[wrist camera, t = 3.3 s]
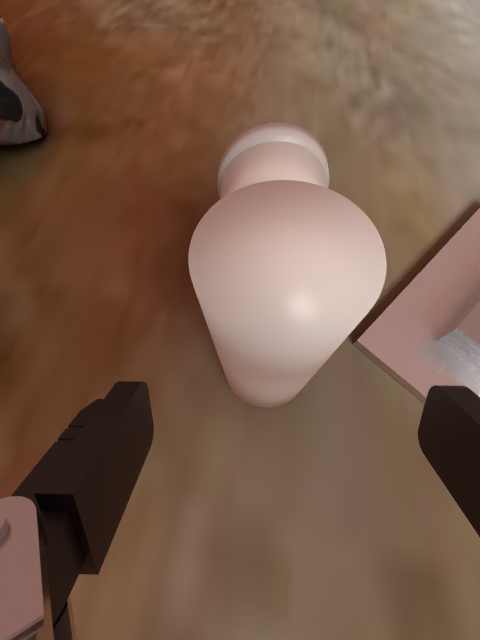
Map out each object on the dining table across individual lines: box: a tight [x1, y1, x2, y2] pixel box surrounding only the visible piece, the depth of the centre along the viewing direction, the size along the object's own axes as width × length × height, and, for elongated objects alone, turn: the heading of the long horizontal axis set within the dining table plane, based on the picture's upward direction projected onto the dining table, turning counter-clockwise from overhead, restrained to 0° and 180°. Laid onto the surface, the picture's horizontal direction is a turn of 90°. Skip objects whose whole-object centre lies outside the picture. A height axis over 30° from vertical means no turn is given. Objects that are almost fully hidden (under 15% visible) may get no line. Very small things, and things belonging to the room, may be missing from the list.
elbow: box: [188, 122, 386, 408], centre depth 14 cm, size 9×5×12 cm, turn 179°
